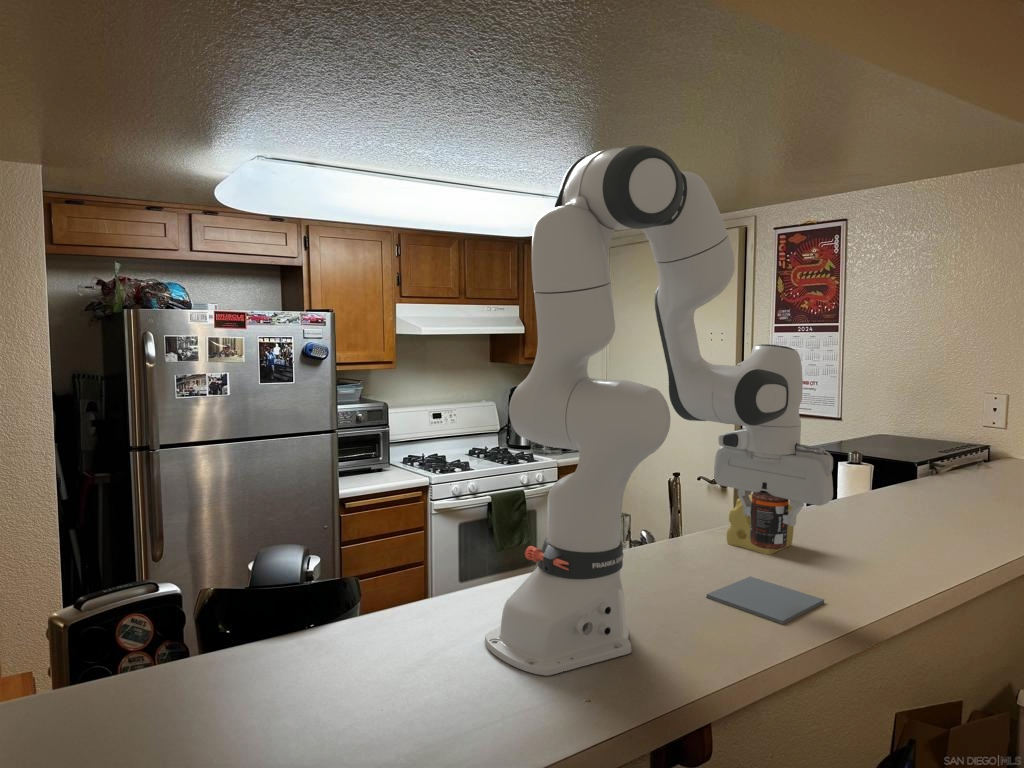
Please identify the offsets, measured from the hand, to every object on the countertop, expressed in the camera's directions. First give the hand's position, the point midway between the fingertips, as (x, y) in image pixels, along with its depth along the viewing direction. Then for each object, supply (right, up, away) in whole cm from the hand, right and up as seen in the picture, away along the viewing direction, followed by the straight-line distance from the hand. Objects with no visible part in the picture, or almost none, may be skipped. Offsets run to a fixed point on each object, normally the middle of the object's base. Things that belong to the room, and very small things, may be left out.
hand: (768, 520), depth 117 cm
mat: (0, -14, +1) cm, 14 cm away
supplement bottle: (0, -5, 0) cm, 5 cm away
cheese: (+10, -12, +32) cm, 36 cm away
